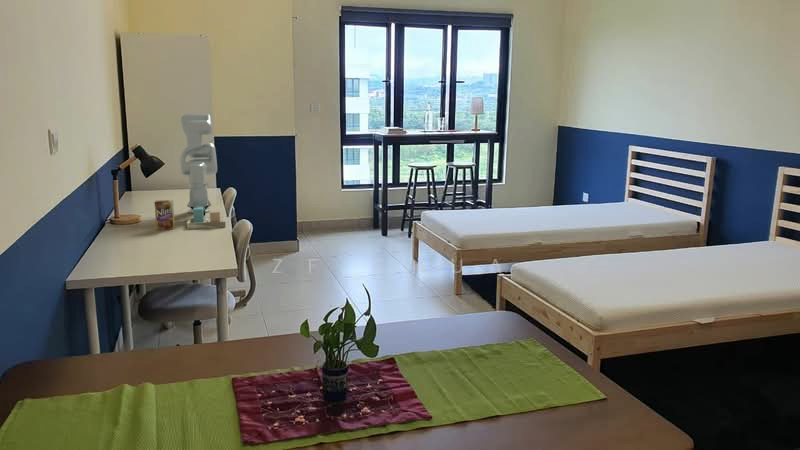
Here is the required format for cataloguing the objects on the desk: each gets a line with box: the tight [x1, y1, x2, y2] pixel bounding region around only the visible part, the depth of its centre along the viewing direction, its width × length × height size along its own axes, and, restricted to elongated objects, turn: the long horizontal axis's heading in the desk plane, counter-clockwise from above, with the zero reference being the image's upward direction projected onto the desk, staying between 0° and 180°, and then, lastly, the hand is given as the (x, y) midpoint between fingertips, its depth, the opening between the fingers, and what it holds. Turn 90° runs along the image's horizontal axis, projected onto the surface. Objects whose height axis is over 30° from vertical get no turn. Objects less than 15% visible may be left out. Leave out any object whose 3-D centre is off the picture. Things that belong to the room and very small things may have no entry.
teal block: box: [192, 207, 205, 223], centre depth 350 cm, size 16×5×8 cm, turn 15°
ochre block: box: [209, 210, 221, 222], centre depth 337 cm, size 5×5×8 cm
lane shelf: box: [186, 217, 227, 230], centre depth 337 cm, size 10×20×3 cm, turn 105°
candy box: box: [153, 199, 176, 230], centre depth 329 cm, size 9×4×15 cm, turn 98°
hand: (200, 216), depth 356 cm, fingers closed on teal block, 3 cm apart
